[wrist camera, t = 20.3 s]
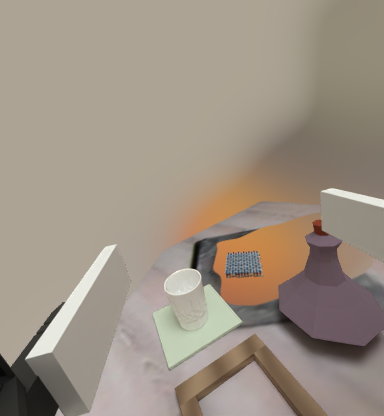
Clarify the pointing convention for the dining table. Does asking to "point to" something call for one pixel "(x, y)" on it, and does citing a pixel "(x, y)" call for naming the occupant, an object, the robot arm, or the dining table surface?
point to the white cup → (187, 298)
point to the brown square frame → (233, 363)
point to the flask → (329, 297)
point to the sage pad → (199, 339)
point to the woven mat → (243, 265)
